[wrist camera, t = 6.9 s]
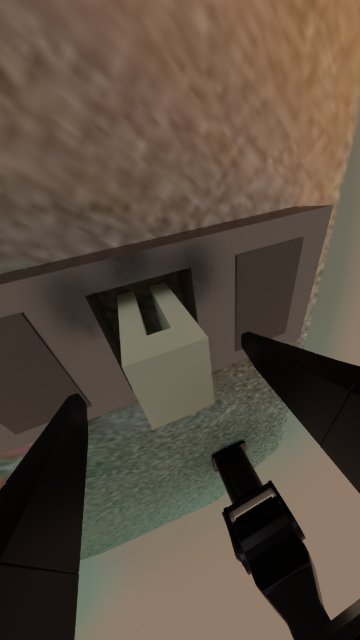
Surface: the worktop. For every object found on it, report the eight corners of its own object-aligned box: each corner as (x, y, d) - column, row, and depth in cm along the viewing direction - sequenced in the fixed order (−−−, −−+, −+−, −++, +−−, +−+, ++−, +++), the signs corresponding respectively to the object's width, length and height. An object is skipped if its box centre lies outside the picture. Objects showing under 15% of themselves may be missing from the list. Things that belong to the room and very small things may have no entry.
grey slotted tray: (276, 322, 20) (300, 338, 17) (17, 416, 15) (-2, 456, 13) (294, 206, 14) (334, 205, 11) (-122, 302, 9) (-209, 335, 7)
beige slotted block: (175, 332, 16) (214, 403, 10) (136, 345, 16) (152, 430, 9) (164, 282, 14) (208, 337, 8) (117, 295, 13) (121, 367, 7)
